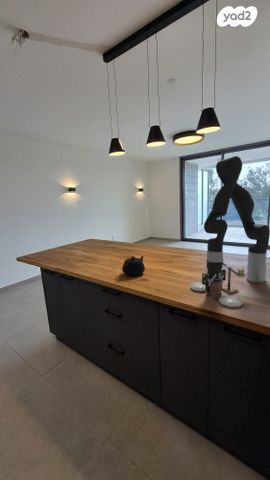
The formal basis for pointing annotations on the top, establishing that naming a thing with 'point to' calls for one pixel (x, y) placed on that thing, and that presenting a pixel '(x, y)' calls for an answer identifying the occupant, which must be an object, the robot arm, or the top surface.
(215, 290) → the lighter
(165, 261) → the top surface
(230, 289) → the balance
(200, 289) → the dish high side
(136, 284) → the top surface
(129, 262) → the teapot
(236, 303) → the dish low side
